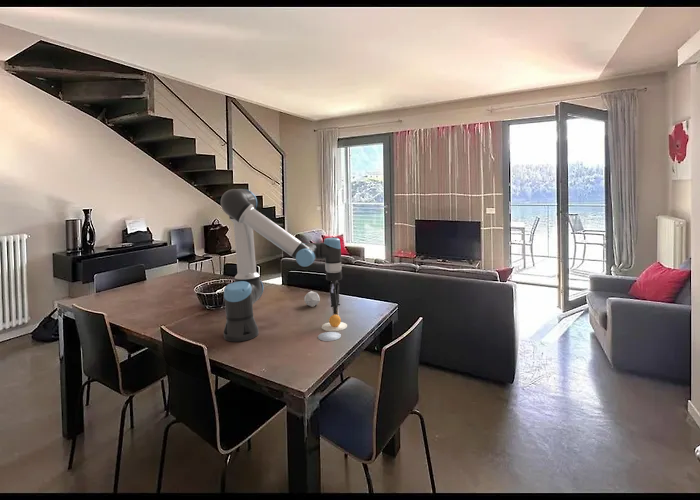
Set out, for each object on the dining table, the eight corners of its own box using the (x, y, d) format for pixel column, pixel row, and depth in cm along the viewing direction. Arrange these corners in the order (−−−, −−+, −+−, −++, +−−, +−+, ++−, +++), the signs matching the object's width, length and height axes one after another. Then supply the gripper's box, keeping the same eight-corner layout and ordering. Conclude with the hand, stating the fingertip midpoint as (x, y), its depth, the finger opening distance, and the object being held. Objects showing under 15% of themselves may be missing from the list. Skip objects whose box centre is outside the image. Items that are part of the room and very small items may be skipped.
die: (323, 307, 211) (321, 290, 215) (314, 303, 204) (313, 286, 209) (311, 310, 214) (309, 294, 219) (302, 307, 207) (300, 290, 212)
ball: (328, 328, 179) (327, 320, 176) (330, 320, 183) (329, 312, 180) (340, 329, 178) (339, 321, 175) (342, 320, 182) (341, 312, 179)
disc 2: (315, 340, 163) (315, 340, 163) (320, 331, 173) (320, 331, 173) (338, 341, 162) (338, 340, 162) (342, 332, 172) (342, 332, 172)
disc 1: (319, 331, 174) (319, 330, 174) (324, 321, 186) (324, 321, 186) (345, 331, 172) (345, 331, 172) (348, 322, 184) (348, 321, 184)
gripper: (339, 274, 172) (341, 324, 176) (343, 267, 184) (345, 314, 188) (322, 274, 173) (325, 324, 177) (328, 268, 185) (330, 314, 189)
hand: (336, 319), depth 183 cm, fingers closed
